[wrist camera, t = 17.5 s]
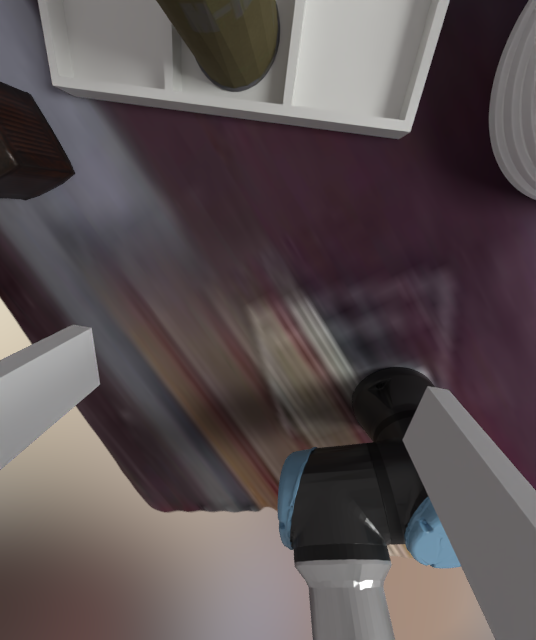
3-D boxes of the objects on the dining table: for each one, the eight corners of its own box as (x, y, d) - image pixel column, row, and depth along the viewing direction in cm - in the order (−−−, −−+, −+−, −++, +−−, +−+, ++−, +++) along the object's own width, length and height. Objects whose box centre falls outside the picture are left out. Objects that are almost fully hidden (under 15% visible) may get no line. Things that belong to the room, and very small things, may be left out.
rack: (449, -35, 26) (473, -74, 23) (399, 139, 33) (412, 130, 29) (49, -78, 28) (12, -120, 24) (75, 96, 34) (49, 83, 30)
